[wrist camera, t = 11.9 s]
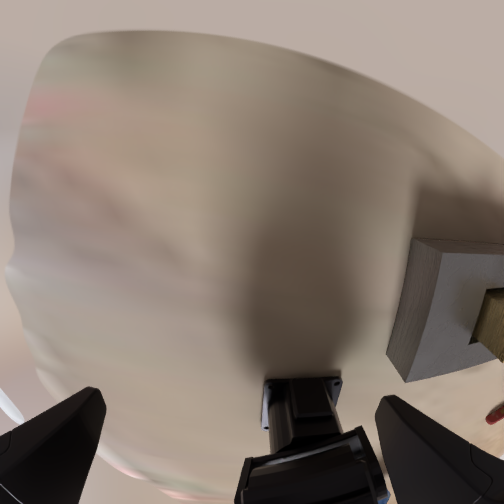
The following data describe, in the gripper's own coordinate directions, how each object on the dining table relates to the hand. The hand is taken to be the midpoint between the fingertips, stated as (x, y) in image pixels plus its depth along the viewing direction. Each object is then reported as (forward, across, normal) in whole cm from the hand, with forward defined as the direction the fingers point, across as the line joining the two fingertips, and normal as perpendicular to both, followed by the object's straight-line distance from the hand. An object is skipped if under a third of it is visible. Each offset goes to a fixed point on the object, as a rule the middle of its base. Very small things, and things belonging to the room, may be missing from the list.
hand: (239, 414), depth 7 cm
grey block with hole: (+12, -20, +2) cm, 23 cm away
